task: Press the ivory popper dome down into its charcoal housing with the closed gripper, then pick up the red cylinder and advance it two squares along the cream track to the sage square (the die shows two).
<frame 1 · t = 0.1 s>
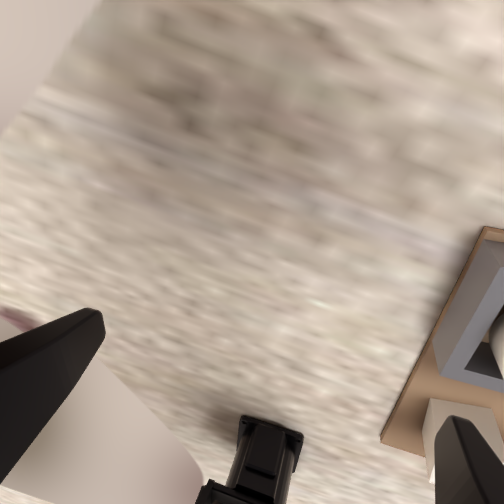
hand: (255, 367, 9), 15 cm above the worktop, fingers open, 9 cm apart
die: (454, 420, 26), resting on board
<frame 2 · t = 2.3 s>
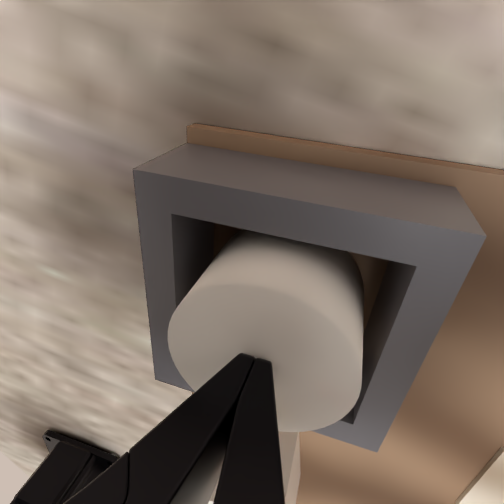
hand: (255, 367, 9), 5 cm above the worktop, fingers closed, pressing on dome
dome: (273, 322, 10), point 3 cm above the worktop, slide at -1.2 cm, touching gripper
die: (262, 443, 18), resting on board
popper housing: (291, 273, 12), resting on board
board: (423, 415, 14), on the worktop
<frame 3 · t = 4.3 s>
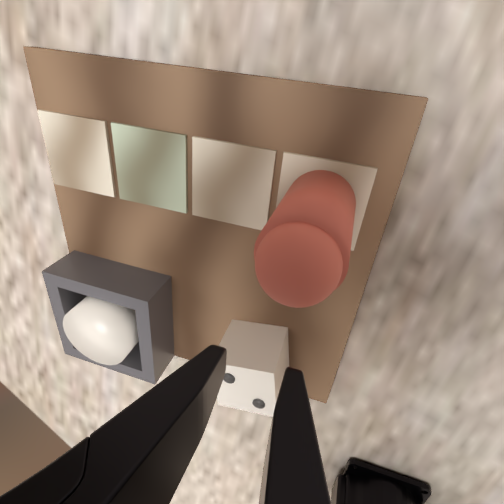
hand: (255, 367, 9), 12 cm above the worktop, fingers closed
dome: (109, 322, 25), point 3 cm above the worktop, slide at -1.8 cm
die: (261, 344, 24), resting on board
red cylinder: (320, 203, 18), point 1 cm above the worktop, touching board
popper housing: (126, 305, 27), resting on board
board: (201, 248, 22), on the worktop
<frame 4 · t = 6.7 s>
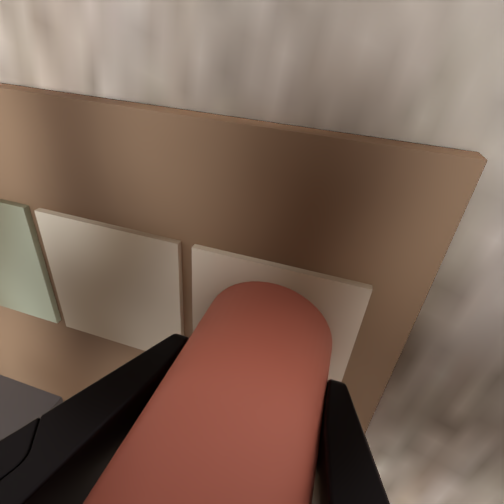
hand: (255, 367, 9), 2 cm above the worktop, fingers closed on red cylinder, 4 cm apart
red cylinder: (267, 334, 10), point 1 cm above the worktop, touching board, gripper
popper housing: (15, 420, 18), resting on board
board: (99, 362, 14), on the worktop
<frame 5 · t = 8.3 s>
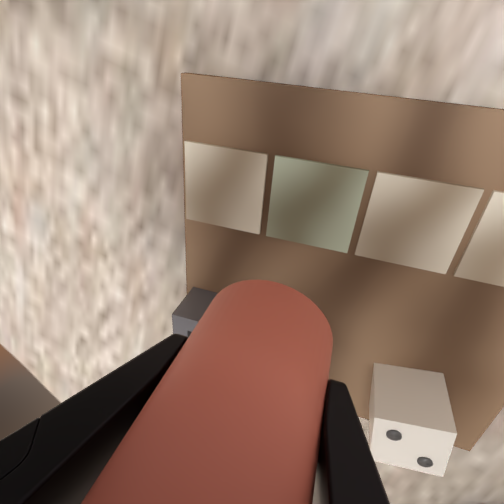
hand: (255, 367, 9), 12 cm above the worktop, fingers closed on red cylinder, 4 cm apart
die: (403, 389, 22), resting on board
red cylinder: (267, 333, 10), point 11 cm above the worktop, touching gripper
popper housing: (244, 343, 25), resting on board
board: (349, 287, 20), on the worktop
when the fingers open (3 cm above the worktop, at t = 10.0 s): red cylinder drops 1 cm, resting on board.
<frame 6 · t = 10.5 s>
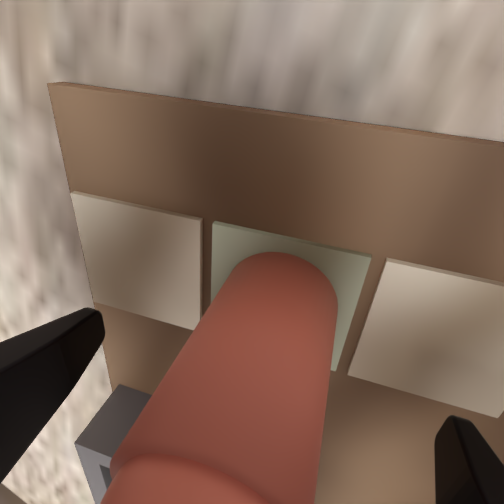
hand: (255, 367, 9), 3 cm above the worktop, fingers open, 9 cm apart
red cylinder: (279, 301, 11), point 1 cm above the worktop, touching board
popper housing: (196, 456, 18), resting on board
board: (340, 406, 13), on the worktop
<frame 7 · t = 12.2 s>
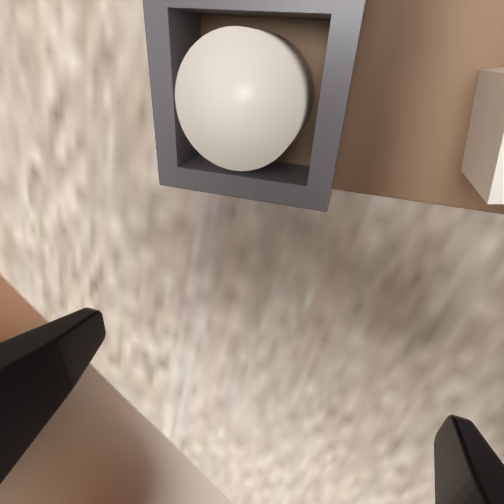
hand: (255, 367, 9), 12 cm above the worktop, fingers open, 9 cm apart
dome: (248, 100, 14), point 3 cm above the worktop, slide at -1.8 cm
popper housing: (261, 95, 16), resting on board
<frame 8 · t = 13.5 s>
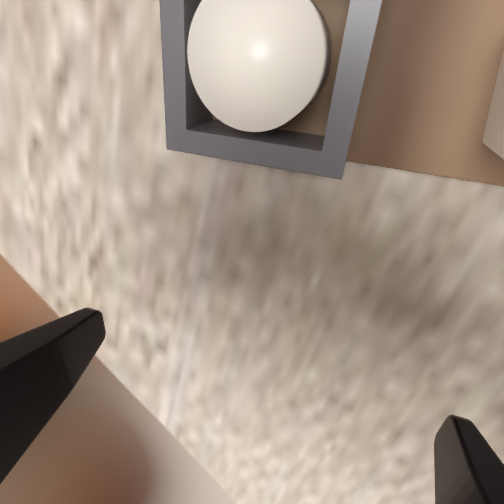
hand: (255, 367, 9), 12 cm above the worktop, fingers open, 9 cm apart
dome: (263, 58, 14), point 3 cm above the worktop, slide at -1.8 cm
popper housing: (275, 58, 15), resting on board
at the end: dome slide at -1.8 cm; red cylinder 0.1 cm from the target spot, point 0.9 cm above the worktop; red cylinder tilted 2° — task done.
